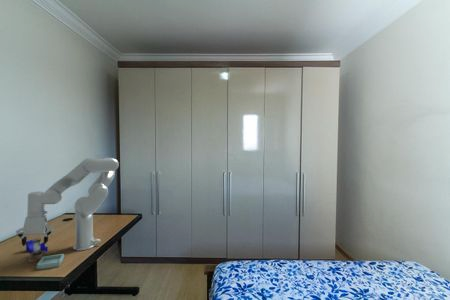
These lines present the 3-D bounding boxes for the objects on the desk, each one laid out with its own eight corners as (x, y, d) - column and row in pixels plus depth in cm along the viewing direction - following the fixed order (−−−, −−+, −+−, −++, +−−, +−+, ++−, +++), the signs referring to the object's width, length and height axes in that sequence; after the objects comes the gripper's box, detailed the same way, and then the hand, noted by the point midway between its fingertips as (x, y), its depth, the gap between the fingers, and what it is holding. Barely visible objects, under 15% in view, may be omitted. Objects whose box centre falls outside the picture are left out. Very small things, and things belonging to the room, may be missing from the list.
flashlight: (42, 256, 137) (42, 238, 137) (39, 259, 133) (39, 240, 133) (34, 257, 136) (34, 238, 135) (31, 260, 132) (31, 241, 132)
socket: (45, 255, 138) (45, 250, 138) (41, 260, 133) (41, 255, 133) (32, 257, 136) (32, 252, 136) (28, 262, 131) (28, 256, 131)
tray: (64, 257, 136) (64, 253, 136) (59, 266, 127) (59, 262, 127) (43, 260, 132) (43, 256, 132) (36, 270, 123) (36, 265, 123)
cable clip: (47, 251, 144) (47, 241, 144) (39, 254, 139) (39, 244, 139) (34, 248, 148) (34, 238, 148) (26, 251, 144) (26, 241, 143)
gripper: (56, 211, 140) (55, 239, 140) (19, 213, 134) (18, 243, 134) (52, 214, 133) (51, 244, 133) (13, 216, 127) (12, 248, 127)
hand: (35, 244), depth 134 cm, fingers open, 9 cm apart
